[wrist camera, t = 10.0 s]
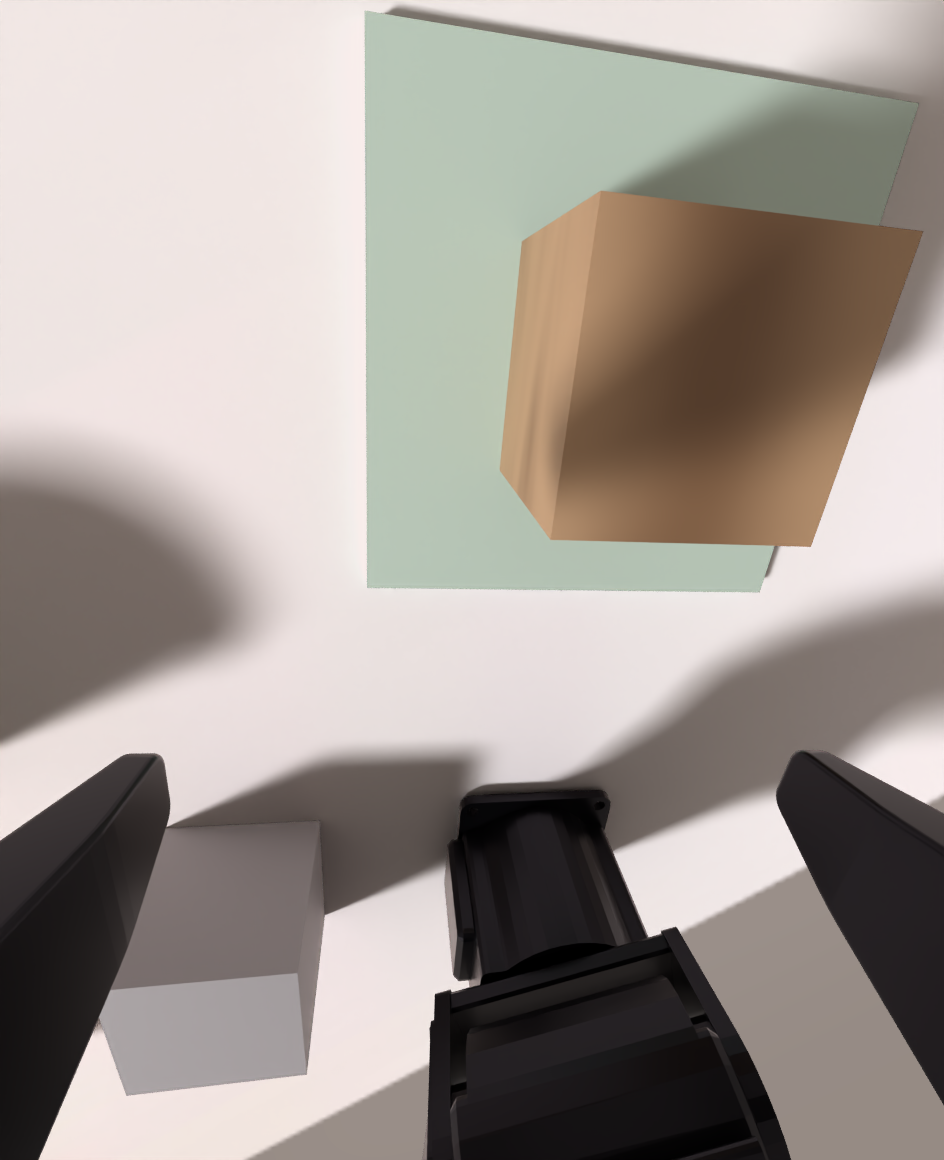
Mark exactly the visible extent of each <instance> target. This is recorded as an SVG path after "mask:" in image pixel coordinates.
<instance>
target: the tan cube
mask: <svg viewBox="0 0 944 1160" xmlns="http://www.w3.org/2000/svg"><path fill="white" fill-rule="evenodd" d="M922 233H923V231H916V230H908V229H900V228H892V227H884V226H876V225H869V224H861V223H853V222H845V221H837V220H829V219H821V218H813V217H805V216H798V215H790V214H782V213H774V212H766V211H758V210H750V209H742V208H734V207H727V206H719V205H711V204H703V203H695V202H687V201H679V200H671V199H663V198H656V197H648V196H640V195H632V194H624V193H616V192H608V191H599V192H598V193H596V194H595V195H593V196H592V197H590V198H589V199H587V200H585V201H584V202H582V203H581V204H579V205H578V206H576V207H575V208H573V209H571V210H570V211H568V212H567V213H565V214H564V215H562V216H561V217H559V218H557V219H556V220H554V221H553V222H551V223H550V224H548V225H547V226H545V227H543V228H542V229H540V230H539V231H537V232H536V233H534V234H533V235H531V236H529V237H528V238H526V239H525V240H523V241H522V245H521V255H520V265H519V275H518V286H517V296H516V306H515V317H514V327H513V337H512V347H511V358H510V368H509V378H508V388H507V399H506V409H505V419H504V430H503V440H502V450H501V460H500V472H501V473H502V474H503V476H504V477H505V478H506V480H507V481H508V483H509V484H510V485H511V487H512V488H513V489H514V491H515V492H516V493H517V495H518V496H519V498H520V499H521V500H522V502H523V503H524V504H525V506H526V507H527V508H528V510H529V511H530V513H531V514H532V515H533V517H534V518H535V519H536V521H537V522H538V524H539V525H540V526H541V528H542V529H543V530H544V532H545V533H546V534H547V536H548V537H549V539H550V540H571V541H610V542H649V543H687V544H726V545H765V546H803V547H811V545H812V542H813V539H814V536H815V534H816V531H817V528H818V525H819V522H820V520H821V517H822V514H823V511H824V508H825V506H826V503H827V500H828V497H829V494H830V491H831V489H832V486H833V483H834V480H835V477H836V475H837V472H838V469H839V466H840V463H841V461H842V458H843V455H844V452H845V449H846V447H847V444H848V441H849V438H850V435H851V433H852V430H853V427H854V424H855V421H856V418H857V416H858V413H859V410H860V407H861V404H862V402H863V399H864V396H865V393H866V390H867V388H868V385H869V382H870V379H871V376H872V374H873V371H874V368H875V365H876V362H877V360H878V357H879V354H880V351H881V348H882V345H883V343H884V340H885V337H886V334H887V331H888V329H889V326H890V323H891V320H892V317H893V315H894V312H895V309H896V306H897V303H898V301H899V298H900V295H901V292H902V289H903V287H904V284H905V281H906V278H907V275H908V273H909V270H910V267H911V264H912V261H913V258H914V256H915V253H916V250H917V247H918V244H919V242H920V239H921V236H922Z"/></svg>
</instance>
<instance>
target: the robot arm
mask: <svg viewBox="0 0 944 1160" xmlns="http://www.w3.org/2000/svg"><path fill="white" fill-rule="evenodd" d="M776 800H777V804H778V807H779V810H780V812H781V814H782V816H783V818H784V820H785V822H786V824H787V826H788V828H789V830H790V832H791V834H792V836H793V838H794V840H795V842H796V844H797V847H798V849H799V851H800V853H801V855H802V857H803V859H804V861H805V863H806V865H807V867H808V869H809V871H810V873H811V875H812V877H813V879H814V881H815V884H816V886H817V888H818V890H819V892H820V894H821V896H822V898H823V899H824V901H825V903H826V905H827V907H828V909H829V911H830V913H831V914H832V916H833V918H834V920H835V922H836V923H837V925H838V927H839V928H840V930H841V932H842V934H843V935H844V937H845V939H846V940H847V942H848V944H849V945H850V947H851V949H852V950H853V952H854V954H855V956H856V957H857V959H858V961H859V962H860V964H861V966H862V967H863V969H864V971H865V973H866V974H867V976H868V978H869V979H870V981H871V983H872V984H873V986H874V988H875V989H876V991H877V993H878V995H879V996H880V998H881V1000H882V1001H883V1003H884V1005H885V1006H886V1008H887V1009H888V1011H889V1013H890V1015H891V1016H892V1018H893V1020H894V1021H895V1023H896V1025H897V1027H898V1028H899V1030H900V1031H901V1033H902V1035H903V1037H904V1039H905V1040H906V1042H907V1044H908V1045H909V1047H910V1049H911V1050H912V1052H913V1054H914V1055H915V1057H916V1059H917V1061H918V1062H919V1064H920V1065H921V1067H922V1069H923V1071H924V1072H925V1074H926V1076H927V1077H928V1079H929V1081H930V1082H931V1084H932V1086H933V1088H934V1089H935V1091H936V1093H937V1094H938V1096H939V1098H940V1100H941V1101H942V1103H943V1105H944V813H942V812H940V811H938V810H936V809H934V808H933V807H931V806H929V805H927V804H925V803H923V802H921V801H919V800H917V799H916V798H914V797H912V796H910V795H908V794H906V793H904V792H902V791H900V790H898V789H897V788H895V787H893V786H891V785H889V784H887V783H885V782H883V781H881V780H879V779H878V778H876V777H874V776H872V775H870V774H868V773H866V772H864V771H862V770H860V769H859V768H857V767H855V766H853V765H851V764H849V763H847V762H845V761H843V760H841V759H839V758H838V757H836V756H834V755H832V754H830V753H828V752H825V751H821V750H800V751H797V752H795V753H794V754H793V755H792V756H791V758H790V760H789V763H788V765H787V767H786V769H785V772H784V774H783V776H782V779H781V781H780V783H779V786H778V788H777V791H776ZM470 808H473V809H470ZM609 809H610V800H609V798H608V796H607V794H606V792H604V791H602V790H586V791H564V792H542V793H520V794H499V795H477V796H468V797H466V798H464V799H463V800H462V801H461V803H460V806H459V817H458V828H457V840H451V842H450V843H449V844H448V845H447V857H446V870H445V894H446V905H447V916H448V927H449V938H450V948H451V959H452V970H453V975H454V977H455V978H456V979H457V980H458V981H465V980H469V987H470V988H466V989H462V990H459V991H455V992H451V990H447V991H444V992H440V993H436V994H435V1009H434V1020H433V1021H431V1027H430V1063H429V1098H428V1120H427V1128H426V1135H425V1142H424V1150H423V1157H422V1160H791V1158H790V1155H789V1151H788V1148H787V1145H786V1142H785V1139H784V1136H783V1133H782V1130H781V1128H780V1125H779V1122H778V1119H777V1116H776V1114H775V1112H774V1109H773V1107H772V1104H771V1102H770V1099H769V1097H768V1094H767V1092H766V1090H765V1087H764V1085H763V1083H762V1080H761V1078H760V1076H759V1074H758V1072H757V1070H756V1068H755V1065H754V1063H753V1061H752V1059H751V1057H750V1055H749V1053H748V1051H747V1049H746V1047H745V1046H744V1044H743V1042H742V1040H741V1038H740V1036H739V1034H738V1033H737V1031H736V1029H735V1028H734V1026H733V1024H732V1022H731V1021H730V1019H729V1017H728V1015H727V1014H726V1012H725V1010H724V1008H723V1007H722V1005H721V1003H720V1001H719V1000H718V998H717V996H716V994H715V993H714V991H713V989H712V988H711V986H710V984H709V982H708V981H707V979H706V977H705V975H704V974H703V972H702V970H701V969H700V967H699V965H698V963H697V962H696V960H695V958H694V956H693V955H692V953H691V951H690V950H689V948H688V946H687V944H686V943H685V941H684V939H683V937H682V936H681V934H680V932H679V930H678V929H677V927H673V928H669V929H666V930H662V931H661V934H660V935H656V936H652V937H648V935H647V933H646V930H645V928H644V925H643V923H642V921H641V918H640V916H639V913H638V911H637V909H636V906H635V904H634V901H633V899H632V897H631V894H630V892H629V889H628V887H627V885H626V882H625V880H624V877H623V875H622V873H621V870H620V868H619V866H618V863H617V861H616V858H615V856H614V854H613V851H612V849H611V846H610V844H609V842H608V839H607V837H606V834H605V832H604V829H605V825H606V821H607V817H608V813H609ZM169 814H170V796H169V790H168V783H167V777H166V770H165V764H164V760H163V758H162V757H161V756H160V755H158V754H155V753H150V754H126V755H123V756H121V757H120V758H118V759H117V760H115V761H114V762H112V763H111V764H109V765H108V766H107V767H105V768H104V769H102V770H101V771H99V772H98V773H97V774H95V775H94V776H92V777H91V778H89V779H88V780H87V781H85V782H84V783H82V784H81V785H79V786H78V787H77V788H75V789H74V790H72V791H71V792H69V793H68V794H66V795H65V796H64V797H62V798H61V799H59V800H58V801H56V802H55V803H54V804H52V805H51V806H49V807H48V808H46V809H45V810H44V811H42V812H41V813H39V814H38V815H36V816H35V817H33V818H32V819H31V820H29V821H28V822H26V823H25V824H23V825H22V826H21V827H19V828H18V829H16V830H15V831H13V832H12V833H11V834H9V835H8V836H6V837H5V838H3V839H2V840H1V841H0V1160H39V1157H40V1155H41V1153H42V1150H43V1148H44V1146H45V1143H46V1141H47V1139H48V1136H49V1134H50V1132H51V1129H52V1127H53V1125H54V1122H55V1120H56V1117H57V1115H58V1113H59V1110H60V1108H61V1106H62V1103H63V1101H64V1099H65V1096H66V1094H67V1092H68V1089H69V1087H70V1085H71V1082H72V1080H73V1078H74V1075H75V1073H76V1070H77V1068H78V1066H79V1063H80V1061H81V1059H82V1056H83V1054H84V1052H85V1049H86V1047H87V1045H88V1042H89V1040H90V1038H91V1035H92V1033H93V1031H94V1028H95V1026H96V1023H97V1021H98V1019H99V1016H100V1014H101V1012H102V1009H103V1007H104V1005H105V1002H106V1000H107V998H108V995H109V993H110V991H111V988H112V986H113V984H114V981H115V979H116V976H117V974H118V972H119V969H120V967H121V964H122V962H123V959H124V957H125V954H126V952H127V949H128V947H129V944H130V941H131V938H132V935H133V932H134V929H135V926H136V923H137V919H138V916H139V913H140V910H141V906H142V903H143V900H144V897H145V894H146V890H147V887H148V884H149V881H150V877H151V874H152V871H153V868H154V865H155V861H156V858H157V855H158V852H159V849H160V845H161V842H162V839H163V836H164V832H165V829H166V826H167V823H168V819H169Z"/></svg>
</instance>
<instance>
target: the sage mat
mask: <svg viewBox="0 0 944 1160" xmlns="http://www.w3.org/2000/svg"><path fill="white" fill-rule="evenodd" d="M918 105H919V103H915V102H909V101H903V100H897V99H891V98H885V97H879V96H873V95H867V94H861V93H855V92H849V91H843V90H837V89H831V88H825V87H819V86H813V85H807V84H801V83H795V82H789V81H783V80H777V79H771V78H765V77H759V76H753V75H747V74H741V73H735V72H729V71H723V70H717V69H711V68H705V67H699V66H693V65H687V64H681V63H675V62H669V61H663V60H657V59H651V58H645V57H639V56H633V55H627V54H621V53H615V52H609V51H603V50H597V49H591V48H585V47H579V46H574V45H568V44H562V43H556V42H550V41H544V40H538V39H532V38H526V37H520V36H514V35H508V34H502V33H496V32H490V31H484V30H478V29H472V28H466V27H460V26H454V25H448V24H442V23H436V22H430V21H424V20H418V19H412V18H406V17H400V16H394V15H388V14H382V13H376V12H370V11H365V190H366V422H367V588H429V589H515V590H602V591H688V592H760V589H761V586H762V583H763V580H764V577H765V574H766V571H767V568H768V565H769V562H770V559H771V556H772V552H773V549H774V546H765V545H726V544H687V543H649V542H610V541H571V540H550V539H549V537H548V536H547V534H546V533H545V532H544V530H543V529H542V528H541V526H540V525H539V524H538V522H537V521H536V519H535V518H534V517H533V515H532V514H531V513H530V511H529V510H528V508H527V507H526V506H525V504H524V503H523V502H522V500H521V499H520V498H519V496H518V495H517V493H516V492H515V491H514V489H513V488H512V487H511V485H510V484H509V483H508V481H507V480H506V478H505V477H504V476H503V474H502V473H501V472H500V460H501V450H502V440H503V430H504V419H505V409H506V399H507V388H508V378H509V368H510V358H511V347H512V337H513V327H514V317H515V306H516V296H517V286H518V275H519V265H520V255H521V245H522V241H523V240H525V239H526V238H528V237H529V236H531V235H533V234H534V233H536V232H537V231H539V230H540V229H542V228H543V227H545V226H547V225H548V224H550V223H551V222H553V221H554V220H556V219H557V218H559V217H561V216H562V215H564V214H565V213H567V212H568V211H570V210H571V209H573V208H575V207H576V206H578V205H579V204H581V203H582V202H584V201H585V200H587V199H589V198H590V197H592V196H593V195H595V194H596V193H598V192H599V191H608V192H616V193H624V194H632V195H640V196H648V197H656V198H663V199H671V200H679V201H687V202H695V203H703V204H711V205H719V206H727V207H734V208H742V209H750V210H758V211H766V212H774V213H782V214H790V215H798V216H805V217H813V218H821V219H829V220H837V221H845V222H853V223H861V224H869V225H876V226H879V225H880V222H881V219H882V216H883V213H884V210H885V206H886V203H887V200H888V197H889V194H890V191H891V188H892V185H893V182H894V179H895V176H896V173H897V170H898V167H899V164H900V161H901V157H902V154H903V151H904V148H905V145H906V142H907V139H908V136H909V133H910V130H911V127H912V124H913V121H914V118H915V115H916V112H917V108H918Z"/></svg>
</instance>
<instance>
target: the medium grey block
mask: <svg viewBox="0 0 944 1160" xmlns="http://www.w3.org/2000/svg"><path fill="white" fill-rule="evenodd" d="M324 917H325V911H324V891H323V872H322V853H321V833H320V820H319V821H299V822H279V823H258V824H238V825H217V826H197V827H177V828H166V829H165V832H164V836H163V839H162V842H161V845H160V849H159V852H158V855H157V858H156V861H155V865H154V868H153V871H152V874H151V877H150V881H149V884H148V887H147V890H146V894H145V897H144V900H143V903H142V906H141V910H140V913H139V916H138V919H137V923H136V926H135V929H134V932H133V935H132V938H131V941H130V944H129V947H128V949H127V952H126V954H125V957H124V959H123V962H122V964H121V967H120V969H119V972H118V974H117V976H116V979H115V981H114V984H113V986H112V988H111V991H110V993H109V995H108V998H107V1000H106V1002H105V1005H104V1007H103V1009H102V1012H101V1014H100V1016H99V1019H100V1022H101V1025H102V1028H103V1031H104V1033H105V1036H106V1039H107V1042H108V1045H109V1048H110V1050H111V1053H112V1056H113V1059H114V1062H115V1065H116V1067H117V1070H118V1073H119V1076H120V1079H121V1081H122V1084H123V1087H124V1090H125V1093H126V1096H128V1095H137V1094H145V1093H153V1092H162V1091H170V1090H179V1089H187V1088H196V1087H204V1086H213V1085H221V1084H230V1083H238V1082H247V1081H255V1080H264V1079H272V1078H281V1077H289V1076H298V1075H306V1074H307V1066H308V1058H309V1049H310V1040H311V1031H312V1023H313V1014H314V1005H315V996H316V988H317V979H318V970H319V961H320V953H321V944H322V935H323V926H324Z"/></svg>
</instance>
